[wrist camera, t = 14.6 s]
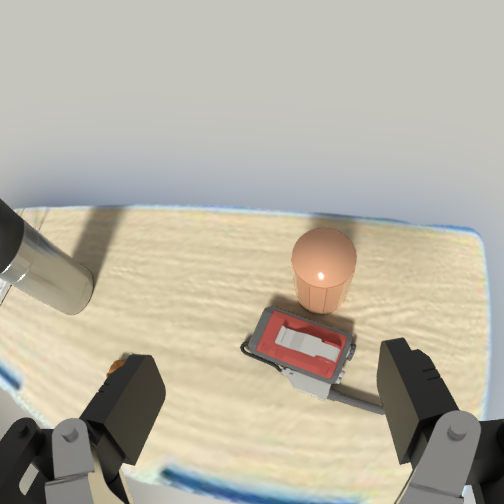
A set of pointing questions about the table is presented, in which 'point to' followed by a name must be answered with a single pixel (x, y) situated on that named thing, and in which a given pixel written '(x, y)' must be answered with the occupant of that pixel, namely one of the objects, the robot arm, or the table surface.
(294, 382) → the walkie-talkie
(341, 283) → the cup
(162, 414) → the table surface
